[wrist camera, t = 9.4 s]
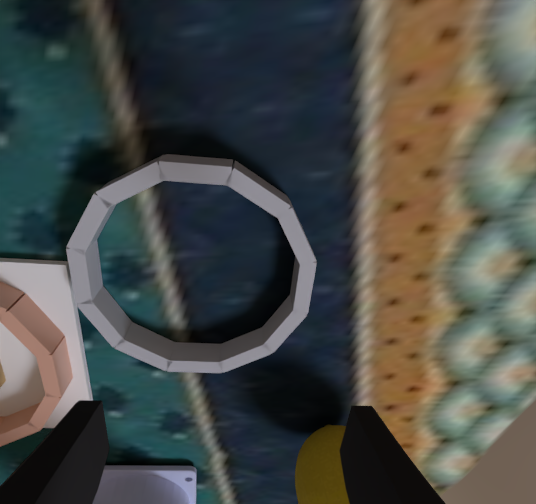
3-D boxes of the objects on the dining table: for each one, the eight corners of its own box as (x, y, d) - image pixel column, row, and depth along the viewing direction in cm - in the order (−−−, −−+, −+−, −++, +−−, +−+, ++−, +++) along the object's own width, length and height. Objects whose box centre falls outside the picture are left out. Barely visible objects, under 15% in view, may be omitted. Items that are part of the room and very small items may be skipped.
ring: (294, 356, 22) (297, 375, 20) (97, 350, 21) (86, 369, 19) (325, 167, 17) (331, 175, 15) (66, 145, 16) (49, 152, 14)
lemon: (343, 458, 27) (379, 600, 19) (275, 442, 25) (287, 587, 18) (382, 409, 24) (439, 548, 17) (311, 389, 23) (340, 529, 16)
